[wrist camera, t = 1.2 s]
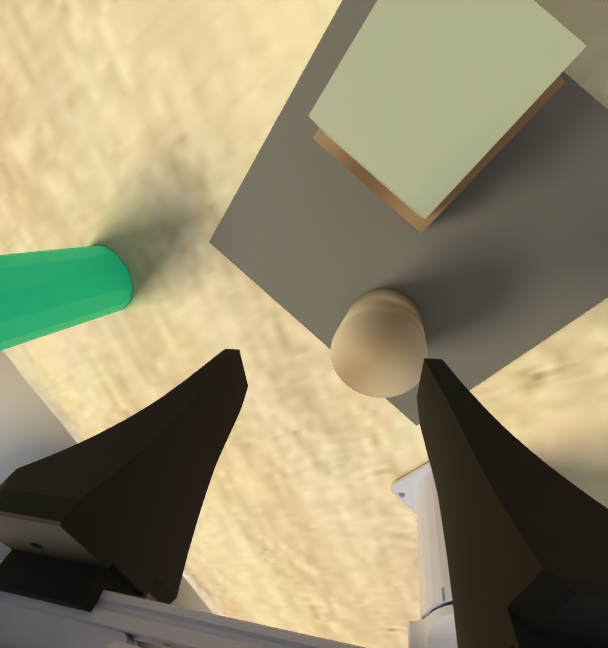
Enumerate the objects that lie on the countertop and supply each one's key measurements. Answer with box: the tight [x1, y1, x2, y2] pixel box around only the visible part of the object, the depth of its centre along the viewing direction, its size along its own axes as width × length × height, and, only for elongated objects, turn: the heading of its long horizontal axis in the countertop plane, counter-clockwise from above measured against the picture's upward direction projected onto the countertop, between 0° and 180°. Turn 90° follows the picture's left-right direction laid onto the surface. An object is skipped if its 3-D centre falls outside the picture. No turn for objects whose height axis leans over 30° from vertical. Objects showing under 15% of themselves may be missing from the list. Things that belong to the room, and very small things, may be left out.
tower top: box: [309, 0, 586, 219], centre depth 11 cm, size 6×6×3 cm
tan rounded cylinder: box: [331, 288, 428, 398], centre depth 17 cm, size 5×5×5 cm
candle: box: [0, 245, 133, 351], centre depth 21 cm, size 6×6×12 cm
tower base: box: [313, 76, 566, 233], centre depth 14 cm, size 7×7×3 cm
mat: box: [210, 0, 608, 425], centre depth 17 cm, size 20×18×1 cm
